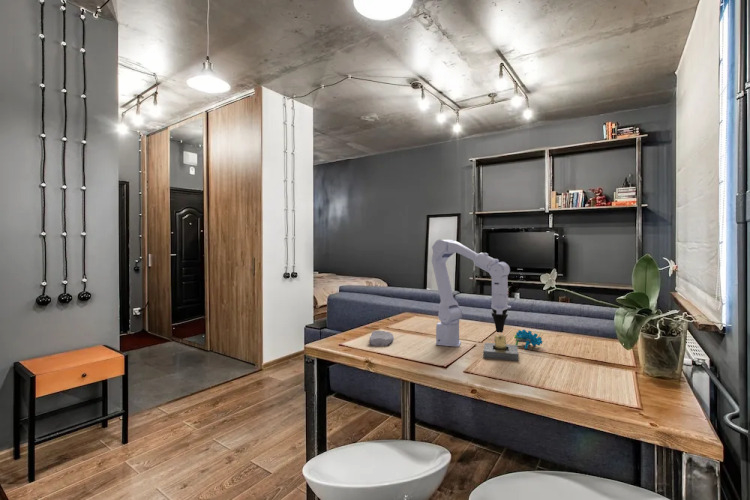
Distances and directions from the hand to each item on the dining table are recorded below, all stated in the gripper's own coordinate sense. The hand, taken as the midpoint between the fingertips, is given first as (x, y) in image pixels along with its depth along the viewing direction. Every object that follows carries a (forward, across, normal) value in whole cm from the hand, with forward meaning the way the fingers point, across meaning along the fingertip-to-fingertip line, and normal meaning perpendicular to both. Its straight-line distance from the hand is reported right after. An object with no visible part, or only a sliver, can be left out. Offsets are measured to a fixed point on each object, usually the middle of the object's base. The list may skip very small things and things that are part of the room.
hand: (499, 329), depth 136 cm
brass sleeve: (+9, 0, 0) cm, 9 cm away
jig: (+9, 0, 0) cm, 9 cm away
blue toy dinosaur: (+10, +14, -11) cm, 20 cm away
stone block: (+10, +3, +48) cm, 49 cm away
